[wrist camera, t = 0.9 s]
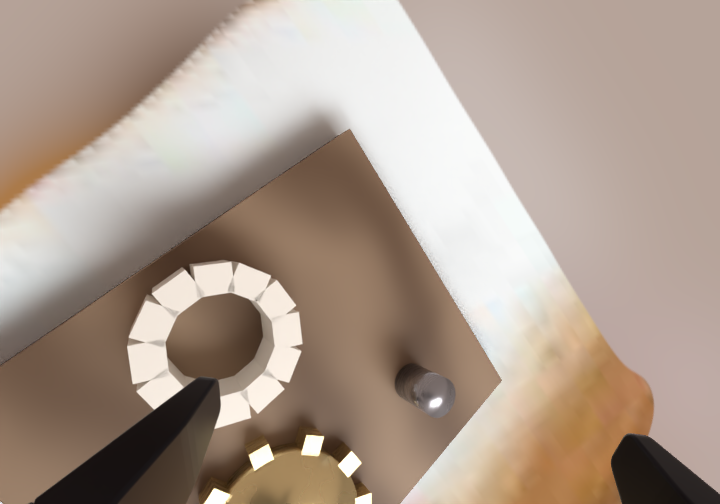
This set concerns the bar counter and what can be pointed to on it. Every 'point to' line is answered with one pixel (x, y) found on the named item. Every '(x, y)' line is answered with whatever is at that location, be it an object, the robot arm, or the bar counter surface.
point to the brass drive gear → (290, 475)
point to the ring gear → (256, 378)
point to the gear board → (244, 334)
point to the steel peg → (425, 390)
